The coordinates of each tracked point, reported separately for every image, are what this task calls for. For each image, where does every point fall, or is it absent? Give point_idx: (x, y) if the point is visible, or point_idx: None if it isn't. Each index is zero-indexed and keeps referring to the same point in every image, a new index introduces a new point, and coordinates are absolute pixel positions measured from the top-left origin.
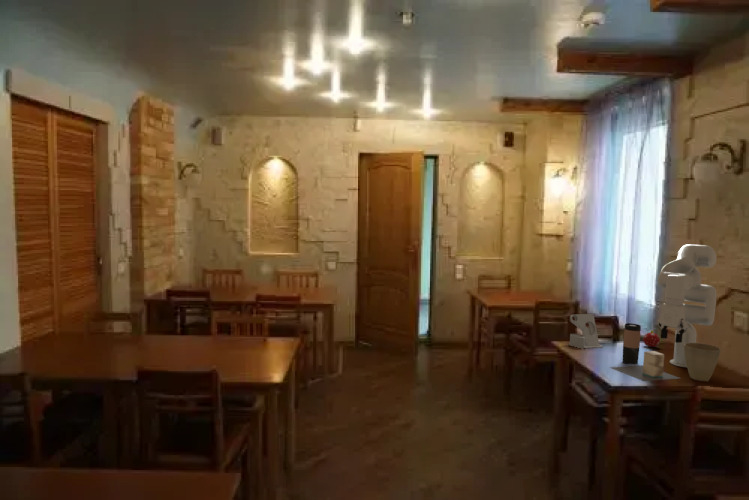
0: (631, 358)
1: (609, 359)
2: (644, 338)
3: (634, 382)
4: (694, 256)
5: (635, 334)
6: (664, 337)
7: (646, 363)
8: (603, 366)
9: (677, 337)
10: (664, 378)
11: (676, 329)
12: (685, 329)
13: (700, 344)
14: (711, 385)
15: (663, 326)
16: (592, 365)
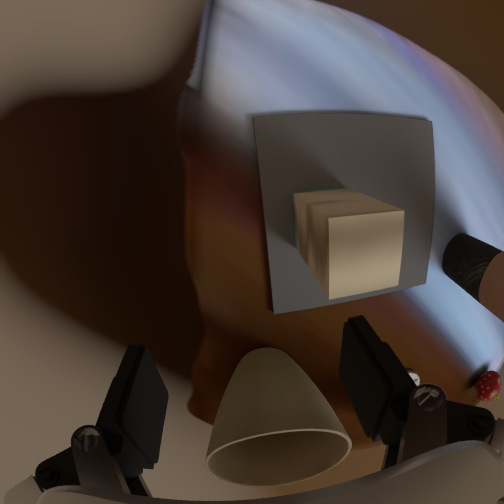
0: (461, 252)
1: (489, 213)
2: (497, 375)
3: (255, 76)
4: None
5: None
6: (344, 351)
7: (353, 198)
8: (449, 123)
9: (117, 393)
10: (280, 245)
11: (111, 482)
12: (28, 482)
13: (324, 467)
14: (202, 362)
15: (407, 443)
16: (457, 94)
